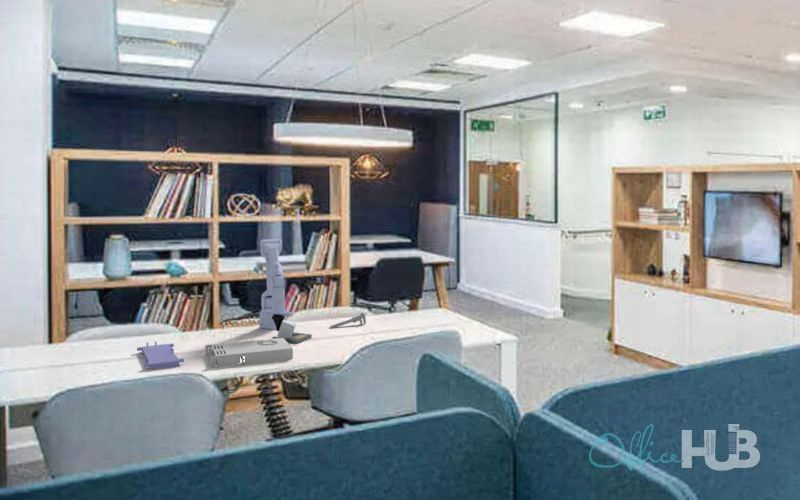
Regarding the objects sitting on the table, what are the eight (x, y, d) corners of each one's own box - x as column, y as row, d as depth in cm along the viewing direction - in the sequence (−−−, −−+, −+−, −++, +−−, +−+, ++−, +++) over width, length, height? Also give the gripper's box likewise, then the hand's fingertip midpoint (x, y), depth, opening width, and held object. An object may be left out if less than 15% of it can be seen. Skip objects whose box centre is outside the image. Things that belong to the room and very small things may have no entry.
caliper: (364, 323, 329) (364, 311, 328) (365, 324, 328) (365, 312, 328) (328, 328, 319) (328, 316, 318) (329, 329, 318) (329, 316, 317)
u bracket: (272, 340, 294) (272, 337, 294) (287, 334, 305) (287, 331, 305) (297, 343, 289) (297, 340, 289) (311, 337, 300) (311, 334, 299)
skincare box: (289, 340, 295) (294, 325, 294) (276, 336, 295) (281, 321, 294) (291, 337, 301) (296, 322, 300) (279, 333, 301) (284, 318, 300)
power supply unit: (205, 356, 271) (205, 344, 270) (283, 348, 283) (283, 337, 282) (210, 368, 253) (210, 356, 253) (293, 360, 266) (292, 348, 265)
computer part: (173, 348, 282) (136, 352, 275) (172, 338, 281) (135, 343, 275) (184, 366, 256) (144, 371, 249) (184, 355, 255) (144, 360, 248)
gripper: (260, 301, 297) (260, 331, 298) (286, 304, 290) (286, 333, 291) (269, 299, 303) (270, 328, 304) (295, 301, 297) (295, 331, 298)
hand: (278, 330), depth 298 cm, fingers closed, pressing on skincare box
